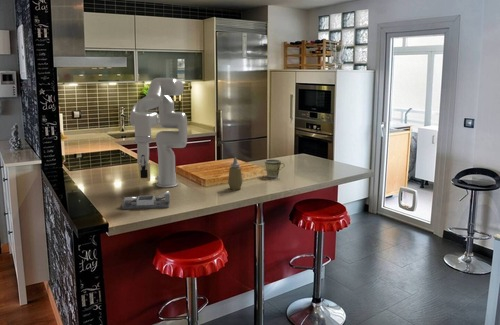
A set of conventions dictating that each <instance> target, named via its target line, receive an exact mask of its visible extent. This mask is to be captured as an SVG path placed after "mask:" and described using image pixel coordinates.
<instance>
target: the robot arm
mask: <svg viewBox="0 0 500 325" xmlns="http://www.w3.org/2000/svg"><path fill="white" fill-rule="evenodd" d="M183 93H184V83H183V81H182V80H180V79H178V78H174V77H156V78H154V79H151V82H150V85H149V87H148V90H147V92H146V96H143V97H142V98H141V99H139V100H138V101H137V102H135V103H134V104H133V107H132V109H131V110H130V114H129V123H130V125H131V126H132V127H134V141H135V143H136V144H137V147H136V148H137V150H136V152H137V153H136V155H137V161H136V162H137V165H139V163H141V170H140V173H141V178H148V174H147V163H149V160H150V144H151V143H152V128H156V127H158V125H159V127H160V128H162V129H175V130H161V131H158V132H156V135H155V143H156V148H157V157H158V160H157V161H158V166H157V167H158V175H157V176H156V177H155V180H156V181H157V182H156V183H155V184H156V186H157V187H159V188H174V187H177V186H178V185H179V181H177V180H176V155H175V152H174V151H173V149H183V148H186V146H187V144H188V117H187V114H186V113H185V112H183V111H175V102H174V100H173V99H172V97H171V96H176V97H178V96H182V95H183ZM155 108H158V112H155V111H149V110H153V109H155Z"/></svg>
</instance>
